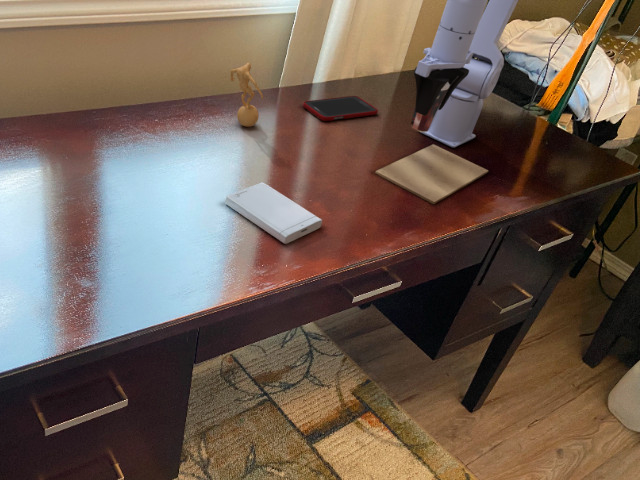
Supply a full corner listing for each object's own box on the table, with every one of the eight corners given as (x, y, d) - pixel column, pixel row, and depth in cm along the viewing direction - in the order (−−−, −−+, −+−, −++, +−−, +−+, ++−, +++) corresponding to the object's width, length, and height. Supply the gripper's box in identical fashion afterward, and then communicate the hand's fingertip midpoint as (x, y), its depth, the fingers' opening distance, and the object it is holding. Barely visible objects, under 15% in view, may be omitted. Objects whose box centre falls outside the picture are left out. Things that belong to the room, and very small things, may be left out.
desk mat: (432, 146, 119) (433, 144, 118) (487, 173, 113) (488, 170, 113) (374, 173, 107) (375, 170, 106) (433, 204, 101) (434, 202, 101)
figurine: (269, 132, 113) (280, 68, 106) (245, 139, 110) (255, 73, 102) (239, 114, 117) (248, 51, 110) (215, 120, 114) (223, 56, 106)
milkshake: (437, 137, 105) (459, 79, 99) (406, 130, 105) (426, 72, 99) (436, 127, 108) (457, 71, 102) (406, 120, 109) (426, 64, 102)
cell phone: (378, 114, 127) (380, 110, 126) (323, 122, 120) (324, 117, 119) (355, 99, 131) (356, 95, 131) (300, 106, 125) (301, 101, 124)
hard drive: (225, 195, 91) (286, 235, 85) (263, 181, 96) (323, 218, 90) (224, 205, 92) (284, 245, 86) (262, 190, 97) (321, 227, 91)
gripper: (457, 15, 102) (430, 93, 111) (411, 25, 93) (385, 109, 102) (495, 28, 99) (464, 108, 107) (451, 40, 90) (421, 126, 99)
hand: (428, 110), depth 105 cm, fingers closed on milkshake, 4 cm apart
